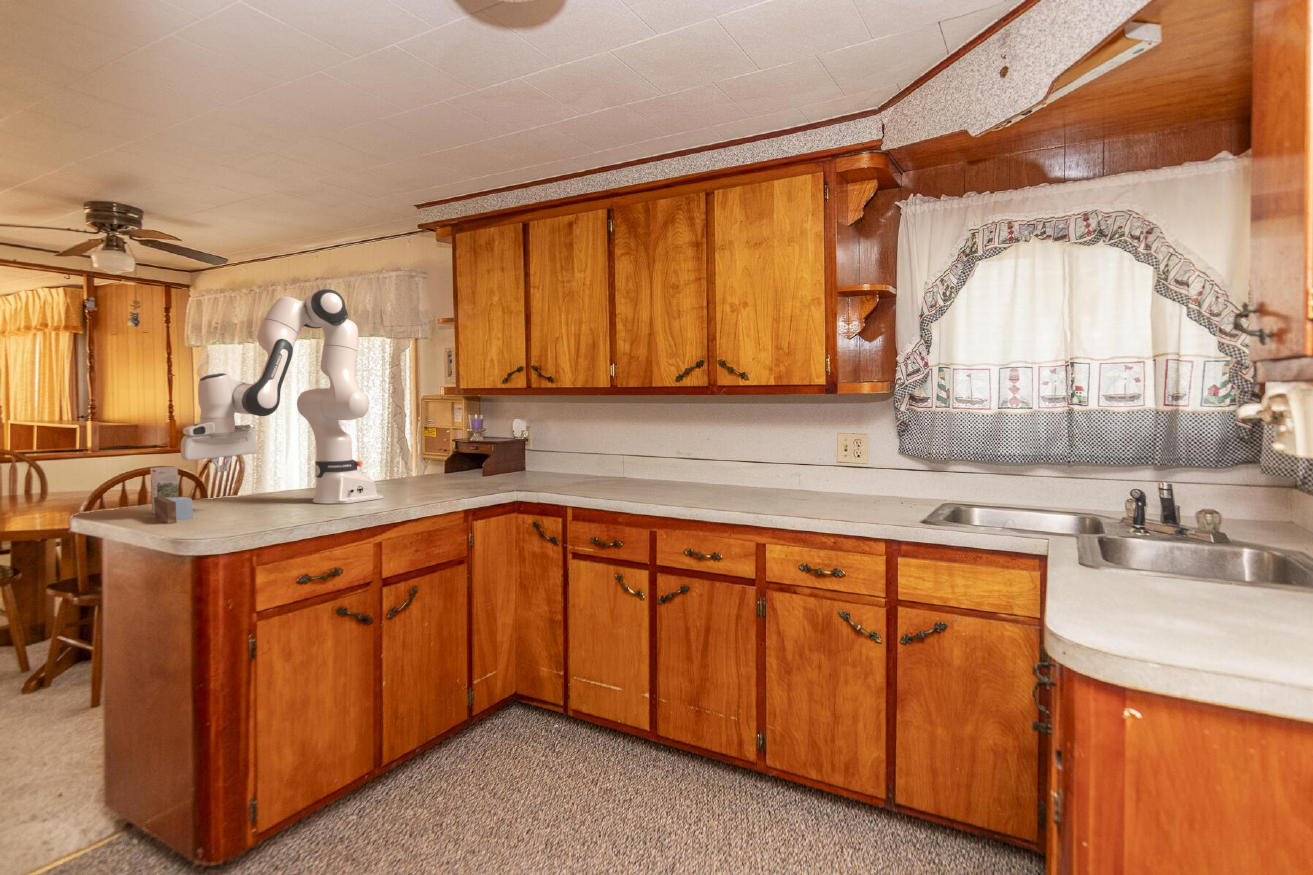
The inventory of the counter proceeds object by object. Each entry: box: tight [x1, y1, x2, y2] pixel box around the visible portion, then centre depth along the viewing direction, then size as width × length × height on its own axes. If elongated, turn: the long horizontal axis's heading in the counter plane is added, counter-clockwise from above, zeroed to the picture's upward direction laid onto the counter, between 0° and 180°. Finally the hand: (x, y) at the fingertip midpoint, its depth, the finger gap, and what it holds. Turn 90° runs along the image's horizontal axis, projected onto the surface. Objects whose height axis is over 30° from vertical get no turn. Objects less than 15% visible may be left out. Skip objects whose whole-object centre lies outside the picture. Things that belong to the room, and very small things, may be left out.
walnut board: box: [154, 497, 177, 525], centre depth 201 cm, size 2×16×6 cm, turn 47°
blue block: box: [167, 496, 194, 521], centre depth 203 cm, size 5×7×6 cm
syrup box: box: [149, 465, 180, 515], centre depth 212 cm, size 6×6×14 cm
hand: (222, 471), depth 211 cm, fingers closed
